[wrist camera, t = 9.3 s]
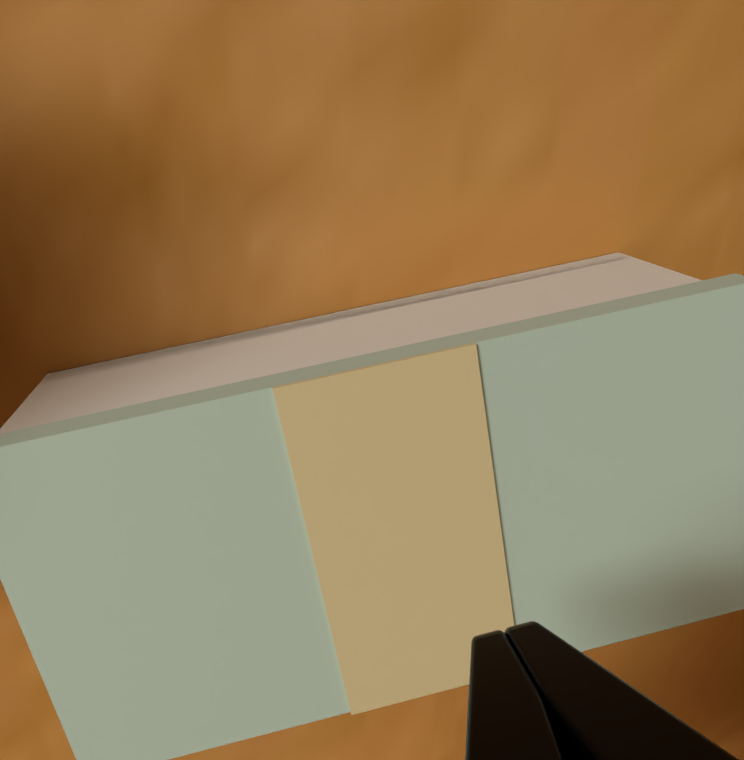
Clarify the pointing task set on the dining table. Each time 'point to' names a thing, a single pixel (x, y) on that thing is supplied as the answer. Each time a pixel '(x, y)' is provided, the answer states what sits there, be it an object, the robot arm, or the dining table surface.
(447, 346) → the lid
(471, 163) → the dining table surface
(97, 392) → the box
